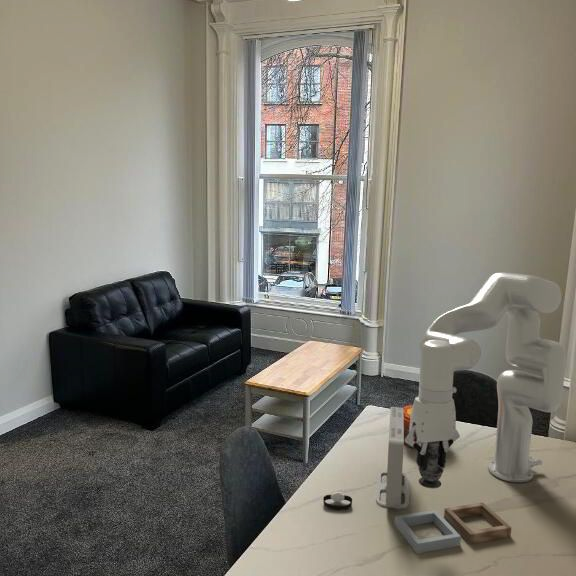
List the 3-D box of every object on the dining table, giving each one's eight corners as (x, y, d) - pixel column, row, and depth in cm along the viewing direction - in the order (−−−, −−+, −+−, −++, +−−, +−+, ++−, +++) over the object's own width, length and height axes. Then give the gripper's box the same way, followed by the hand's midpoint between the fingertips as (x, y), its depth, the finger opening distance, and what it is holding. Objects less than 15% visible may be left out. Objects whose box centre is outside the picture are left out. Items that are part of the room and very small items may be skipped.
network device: (408, 517, 142) (412, 444, 138) (374, 512, 143) (377, 440, 140) (407, 469, 166) (411, 406, 163) (378, 466, 168) (381, 404, 165)
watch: (351, 502, 148) (352, 490, 148) (352, 512, 144) (353, 499, 143) (323, 501, 149) (323, 488, 148) (323, 510, 144) (323, 498, 144)
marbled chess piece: (414, 476, 134) (416, 430, 132) (437, 476, 135) (440, 430, 133) (421, 489, 129) (424, 441, 127) (446, 488, 129) (449, 440, 127)
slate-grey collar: (435, 518, 141) (435, 509, 141) (460, 545, 130) (460, 536, 130) (394, 525, 138) (395, 516, 138) (417, 553, 127) (417, 543, 127)
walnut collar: (482, 511, 145) (482, 502, 144) (510, 536, 134) (511, 527, 134) (444, 517, 142) (444, 508, 141) (469, 544, 131) (470, 534, 131)
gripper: (457, 385, 134) (453, 455, 137) (395, 391, 129) (391, 463, 132) (476, 396, 127) (470, 469, 130) (410, 402, 122) (406, 478, 125)
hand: (430, 465), depth 131 cm, fingers closed on marbled chess piece, 4 cm apart
